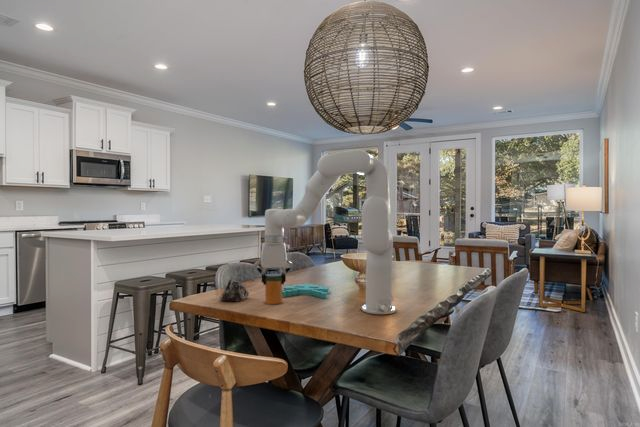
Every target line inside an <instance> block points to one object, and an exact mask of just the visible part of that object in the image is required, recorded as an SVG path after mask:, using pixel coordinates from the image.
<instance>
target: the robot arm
mask: <svg viewBox="0 0 640 427" xmlns="http://www.w3.org/2000/svg"><path fill="white" fill-rule="evenodd" d="M316 165H317V166H316V167H317V170H316V171H315V172H314V173H313V175H312V176H311V177H310V179H309V180H308V181H307V182H306V184H305V185H304V194H303V196H302V198H301V200H300V201H299V202H298V203H297V205H296V206H295V207H294V208H285V209H280V208H268V209H266V210H265V212H264V242H262V245H261V250H260V251H261V253H260V259H258V260H257V261H256V262H255V263H253V267H254V268H255V269H256V270H257V272H259V273H260V275H261V283H262V284H263V286H265V279H266V272H267V270H268V269H281V271H282V272H281V274H282V279H281V280H282V285H285V283H286V282H287V281H286V278H287V277H286V276H287V274H288V273H289V272H290V270H291V269H292V268H293V267H294V263H293V262H291V261H290V260H289V259H288V257H287V248H286V243H285V241H288V236H285V235H284V228H286V229H295V228H300V227H302V226H303V225H305V224H306V223H307V221H308V220H309V219H310V218H311V217H312V216H313V214H314V213H315V212H316V210H317V209H318V208H319V206H320V204H321V202H322V200H323V199H324V197H325V196H326V195H327V194H328V192H329V191H330V189H332V188H333V186H334V185H335V184H336V183H337V182H338V180H339V179H340V178H341V177H342V176H345V175H351V174H358V175H361V176H363V177H365V190H366V191H365V192H366V200H365V201H364V202H363V203H362V206H361V210H360V211H361V215H360V216H361V242H362V245H363V247H364V249H365V250H366V258H365V259H366V263H365V264H366V265H365V267H366V268H365V304H363V305H361V311H362V312H364V313H365V314H371V315H391V314H394V313H396V310H397V308H396V307H395V306H393V305H392V303H393V302H392V296H393V295H392V292H393V290H392V289H393V288H392V286H393V250H394V237H393V234H392V232H391V230H390V218H389V217H390V215H391V211H392V210H391V198H390V197H391V196H390V194H391V193H390V181H389V173H388V169H387V167H386V165H385V163H383V161H382V160H380V159H379V158H377V157H376V156H374V155H372V154H370V153H369V152H368V151H367V150H364V149H359V148H358V149H357V148H356V149H350V150H344V151H338V152H331V153H326V154H324V155H322V156H321V157H320V158H319V159H318V161H317V164H316ZM287 264H288V266H287ZM259 265H260V266H261V267H260V266H259Z"/></svg>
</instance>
